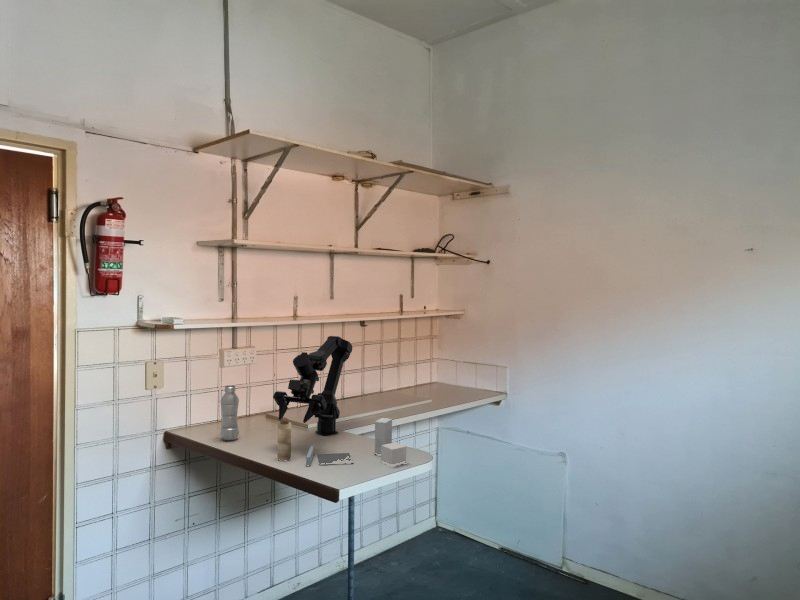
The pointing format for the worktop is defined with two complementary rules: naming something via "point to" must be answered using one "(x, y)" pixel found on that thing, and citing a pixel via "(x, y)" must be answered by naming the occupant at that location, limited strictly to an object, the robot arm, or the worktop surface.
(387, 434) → the skincare box
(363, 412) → the worktop surface
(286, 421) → the mill
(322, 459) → the mat
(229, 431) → the plastic bottle
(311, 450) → the rail
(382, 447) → the grey cube
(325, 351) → the robot arm
